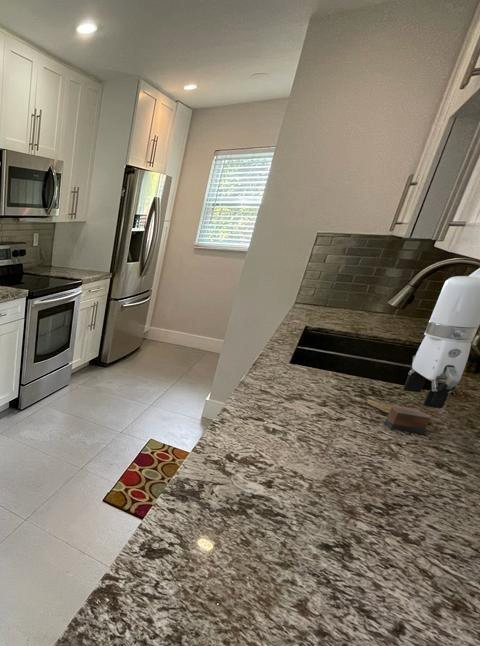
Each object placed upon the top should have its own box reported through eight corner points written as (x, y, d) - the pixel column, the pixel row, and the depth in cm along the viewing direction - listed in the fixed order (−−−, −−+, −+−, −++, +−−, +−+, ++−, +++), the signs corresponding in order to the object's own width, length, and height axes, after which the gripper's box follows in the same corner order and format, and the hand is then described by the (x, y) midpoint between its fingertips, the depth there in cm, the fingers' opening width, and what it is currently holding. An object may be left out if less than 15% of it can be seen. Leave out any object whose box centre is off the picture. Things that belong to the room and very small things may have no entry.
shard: (364, 403, 116) (366, 397, 115) (390, 403, 116) (393, 397, 115) (403, 421, 106) (406, 415, 105) (431, 421, 106) (434, 415, 105)
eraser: (415, 428, 103) (423, 412, 101) (422, 434, 100) (430, 418, 98) (384, 422, 105) (391, 407, 103) (390, 428, 102) (397, 412, 100)
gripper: (498, 343, 85) (463, 416, 91) (450, 324, 100) (423, 388, 106) (449, 339, 88) (418, 410, 94) (409, 321, 103) (385, 383, 109)
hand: (421, 398), depth 100 cm, fingers open, 9 cm apart
